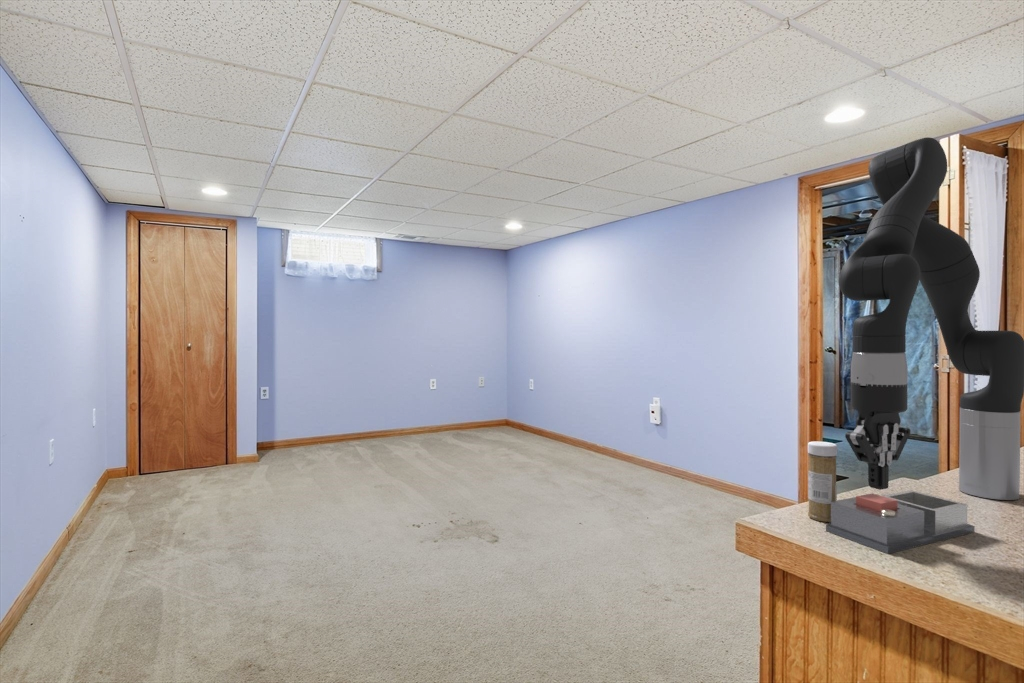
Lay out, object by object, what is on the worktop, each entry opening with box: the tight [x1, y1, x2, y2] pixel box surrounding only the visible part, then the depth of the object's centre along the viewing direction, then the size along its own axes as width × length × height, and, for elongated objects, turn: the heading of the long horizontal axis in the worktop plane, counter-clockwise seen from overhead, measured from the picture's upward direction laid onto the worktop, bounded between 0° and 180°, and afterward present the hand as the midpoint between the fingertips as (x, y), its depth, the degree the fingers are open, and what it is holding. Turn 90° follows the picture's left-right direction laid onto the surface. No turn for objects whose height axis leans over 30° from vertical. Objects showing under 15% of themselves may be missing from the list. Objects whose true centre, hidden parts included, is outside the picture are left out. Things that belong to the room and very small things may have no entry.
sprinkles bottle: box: [807, 440, 838, 523], centre depth 95 cm, size 5×5×14 cm
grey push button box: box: [825, 490, 976, 554], centre depth 89 cm, size 22×10×6 cm, turn 113°
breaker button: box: [855, 493, 897, 512], centre depth 86 cm, size 4×4×5 cm
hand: (878, 487), depth 86 cm, fingers closed
